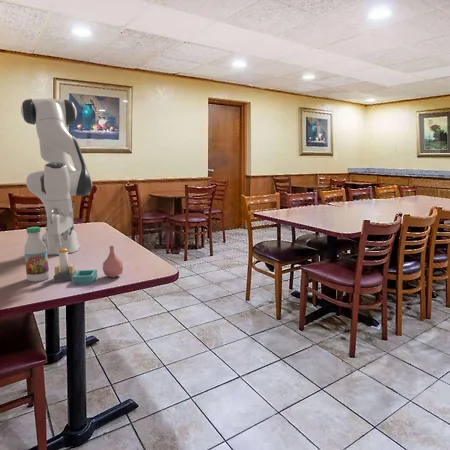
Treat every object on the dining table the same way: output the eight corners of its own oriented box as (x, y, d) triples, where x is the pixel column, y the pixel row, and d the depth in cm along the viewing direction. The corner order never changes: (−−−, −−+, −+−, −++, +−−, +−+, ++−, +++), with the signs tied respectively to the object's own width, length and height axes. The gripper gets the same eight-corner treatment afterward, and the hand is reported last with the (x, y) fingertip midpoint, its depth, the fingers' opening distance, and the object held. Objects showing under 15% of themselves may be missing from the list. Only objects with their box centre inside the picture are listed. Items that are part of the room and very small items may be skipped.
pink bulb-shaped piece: (124, 272, 156) (123, 243, 153) (122, 279, 148) (120, 248, 146) (104, 273, 154) (102, 244, 152) (101, 280, 147) (99, 249, 145)
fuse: (59, 273, 149) (57, 249, 147) (66, 271, 151) (64, 247, 149) (63, 274, 147) (61, 250, 145) (70, 272, 149) (68, 249, 148)
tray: (73, 284, 142) (72, 276, 141) (78, 277, 150) (78, 270, 149) (92, 283, 143) (92, 276, 142) (97, 277, 151) (96, 269, 150)
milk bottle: (24, 278, 149) (18, 227, 145) (45, 274, 154) (40, 224, 151) (31, 283, 144) (25, 230, 140) (52, 278, 149) (47, 227, 145)
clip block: (54, 281, 146) (52, 268, 145) (59, 275, 152) (58, 263, 151) (71, 280, 147) (70, 267, 146) (76, 275, 153) (75, 262, 152)
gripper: (59, 210, 134) (62, 249, 137) (75, 203, 154) (77, 237, 157) (40, 211, 134) (44, 250, 136) (58, 203, 154) (61, 238, 156)
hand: (62, 243), depth 147 cm, fingers open, 8 cm apart
